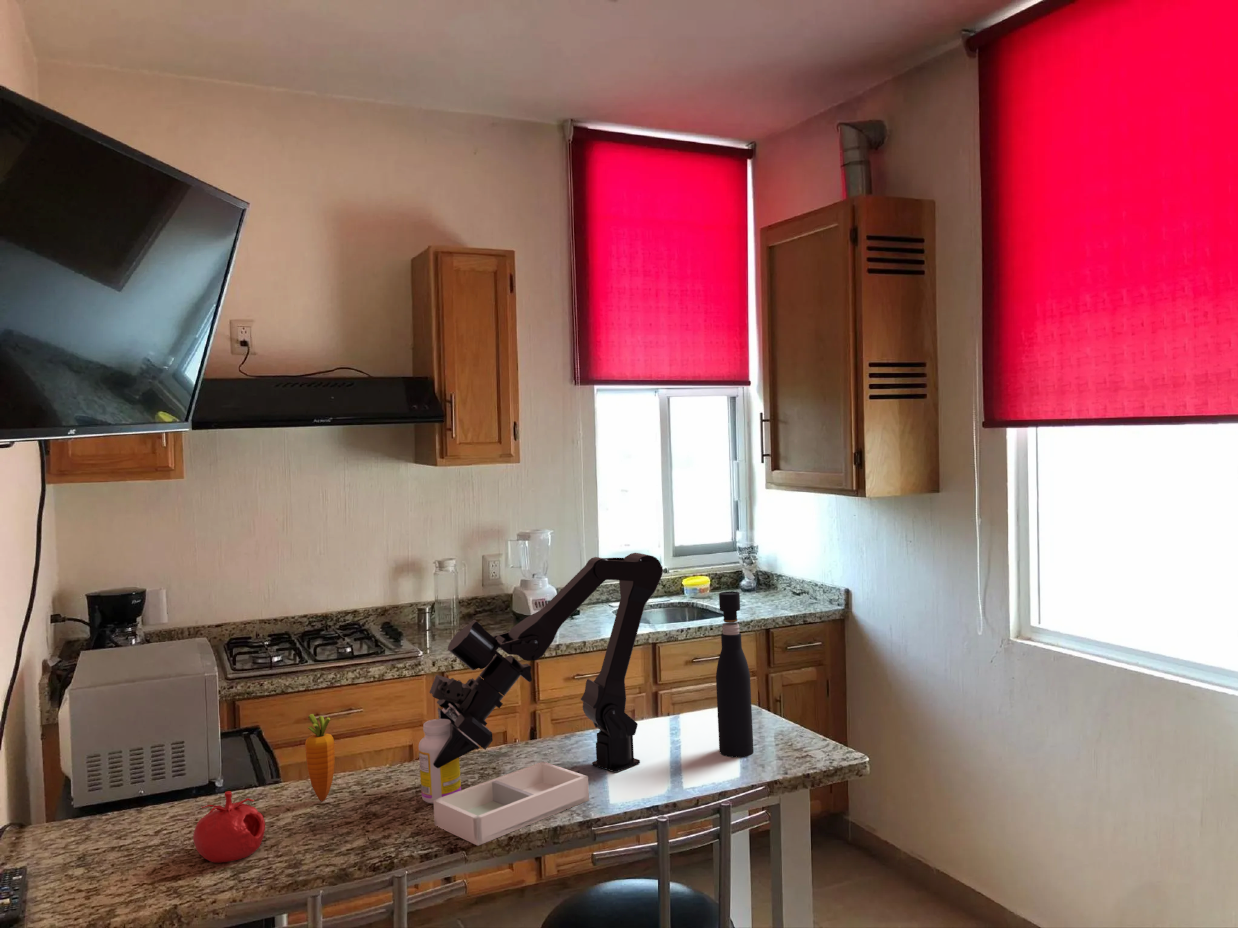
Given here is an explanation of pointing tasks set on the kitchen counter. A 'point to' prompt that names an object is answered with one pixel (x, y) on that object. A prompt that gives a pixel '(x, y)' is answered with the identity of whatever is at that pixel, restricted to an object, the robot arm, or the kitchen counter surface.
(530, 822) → the slot organizer
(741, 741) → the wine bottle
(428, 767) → the supplement bottle
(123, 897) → the kitchen counter surface
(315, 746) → the carrot
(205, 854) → the red tomato
